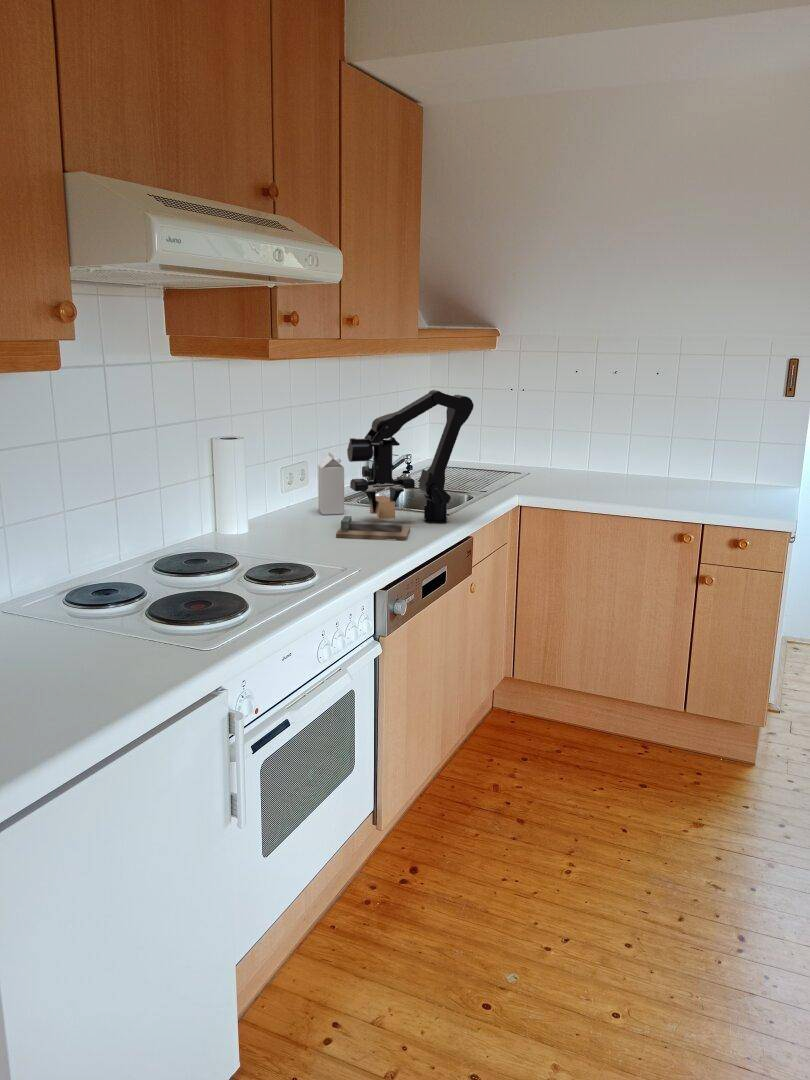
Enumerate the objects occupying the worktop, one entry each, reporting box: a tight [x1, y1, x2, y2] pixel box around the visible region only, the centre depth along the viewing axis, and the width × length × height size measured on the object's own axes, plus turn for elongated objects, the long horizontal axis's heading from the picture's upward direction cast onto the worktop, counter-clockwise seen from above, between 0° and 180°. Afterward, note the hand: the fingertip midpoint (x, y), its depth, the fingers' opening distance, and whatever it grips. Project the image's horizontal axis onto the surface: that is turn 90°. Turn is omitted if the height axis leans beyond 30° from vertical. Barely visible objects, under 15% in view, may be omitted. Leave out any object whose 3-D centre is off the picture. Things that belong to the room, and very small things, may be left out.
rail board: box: [335, 515, 411, 541], centre depth 241 cm, size 20×12×4 cm, turn 85°
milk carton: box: [317, 451, 345, 516], centre depth 266 cm, size 7×7×19 cm
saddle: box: [369, 495, 396, 520], centre depth 253 cm, size 5×9×5 cm, turn 20°
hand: (382, 511), depth 253 cm, fingers closed on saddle, 5 cm apart
